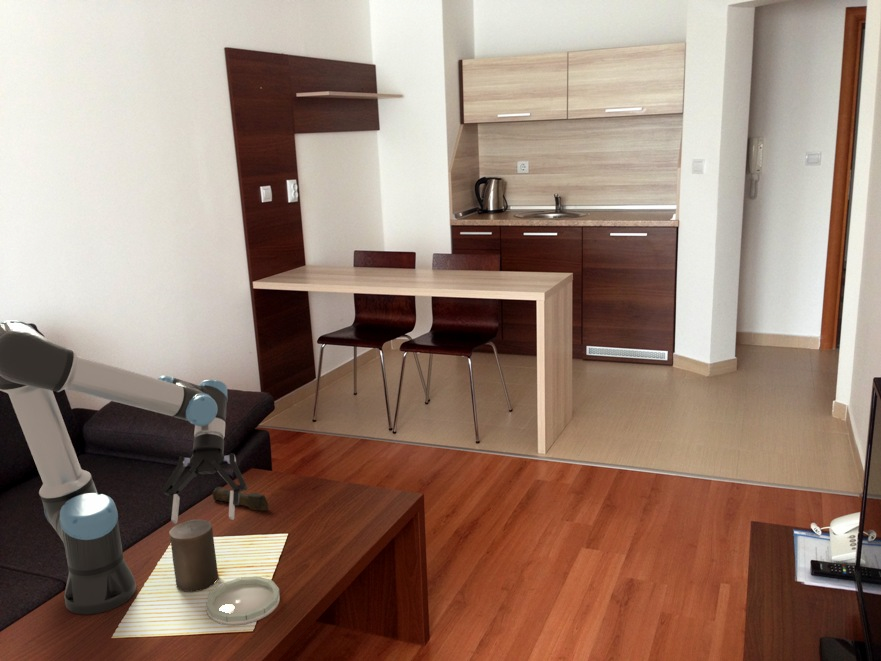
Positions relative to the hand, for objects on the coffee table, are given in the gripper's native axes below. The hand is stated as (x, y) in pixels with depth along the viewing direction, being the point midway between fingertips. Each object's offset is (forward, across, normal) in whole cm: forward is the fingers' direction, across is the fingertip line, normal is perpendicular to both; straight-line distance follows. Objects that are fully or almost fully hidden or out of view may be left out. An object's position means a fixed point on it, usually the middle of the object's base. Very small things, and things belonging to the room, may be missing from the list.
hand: (202, 520), depth 190 cm
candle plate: (+21, -12, +3) cm, 24 cm away
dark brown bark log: (-14, -3, -34) cm, 37 cm away
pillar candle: (+13, +1, -5) cm, 14 cm away
